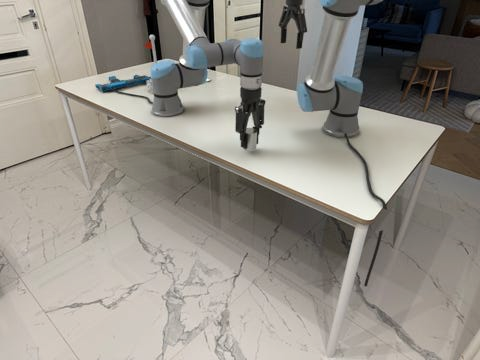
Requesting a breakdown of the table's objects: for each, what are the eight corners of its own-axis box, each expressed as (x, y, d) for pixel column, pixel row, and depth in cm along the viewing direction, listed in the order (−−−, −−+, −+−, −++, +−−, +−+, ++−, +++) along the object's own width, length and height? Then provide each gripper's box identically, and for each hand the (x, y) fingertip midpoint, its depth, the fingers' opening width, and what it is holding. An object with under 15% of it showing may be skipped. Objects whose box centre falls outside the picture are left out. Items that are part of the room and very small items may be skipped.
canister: (255, 151, 130) (255, 134, 126) (241, 150, 131) (241, 133, 127) (257, 145, 134) (258, 128, 130) (244, 143, 135) (244, 127, 131)
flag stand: (168, 85, 203) (161, 31, 187) (172, 92, 193) (166, 36, 177) (146, 88, 199) (137, 33, 183) (149, 95, 189) (140, 37, 173)
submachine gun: (140, 69, 223) (158, 75, 206) (141, 75, 225) (159, 81, 208) (87, 79, 204) (103, 87, 188) (89, 85, 206) (105, 94, 190)
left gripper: (238, 95, 112) (238, 156, 125) (276, 83, 122) (272, 141, 135) (224, 89, 116) (225, 149, 129) (261, 78, 127) (259, 134, 140)
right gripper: (272, -7, 158) (270, 41, 169) (304, -3, 139) (299, 51, 151) (286, -8, 161) (283, 40, 172) (318, -3, 142) (313, 50, 153)
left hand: (249, 145), depth 132 cm, fingers closed on canister, 5 cm apart
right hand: (290, 45), depth 161 cm, fingers open, 13 cm apart
